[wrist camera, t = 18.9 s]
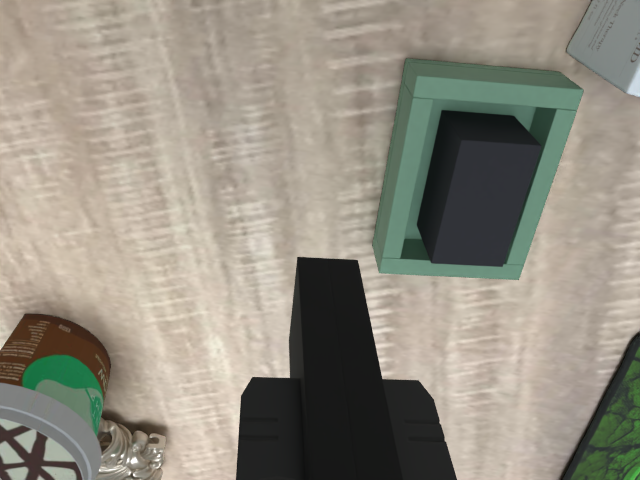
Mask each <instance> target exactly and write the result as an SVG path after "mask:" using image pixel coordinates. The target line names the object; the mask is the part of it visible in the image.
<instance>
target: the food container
mask: <svg viewBox="0 0 640 480" xmlns="http://www.w3.org/2000/svg"><path fill="white" fill-rule="evenodd" d="M110 368H111V364H110V358H109V356H108V353H107V351H106V349H105V348H104V346H103V345H102V343H101V342H100V341H99V340H98V339H97V338H96V337H95V336H94V335H92V334H91V333H90V332H89V331H87V330H86V329H84V328H82V327H81V326H79V325H77V324H75V323H73V322H71V321H68V320H65V319H62V318H58V317H54V316H49V315H41V314H25V315H24V316H23V318H22V319H21V321H20V322H19V324H18V325H17V327H16V328H15V330H14V331H13V333H12V334H11V336H10V337H9V338H8V340H7V341H6V343H5V344H4V346H3V347H2V349H1V350H0V478H1V479H2V480H95V478H96V476H97V474H98V472H99V469H100V466H101V459H102V453H101V448H100V444H99V441H98V439H97V433H98V429H99V424H100V419H101V414H102V410H103V405H104V400H105V396H106V391H107V386H108V382H109V377H110Z"/></svg>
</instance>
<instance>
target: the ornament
mask: <svg viewBox="0 0 640 480" xmlns="http://www.w3.org/2000/svg"><path fill="white" fill-rule="evenodd" d="M110 434H111V435H112V442H111V443H110V442H100V441H101V439H102V438H103V437H104V436H106V435H110ZM97 439H98V441H99V444H100V448H101V453H102V459H101V466H100V469H99V472H98V474H97V476H96V478H95V480H161V477H162V473H163V472H162V469H161V468H160V466H161V465H162V463H163V461H164V448H165V443H166V437H165V436H162V435H160V434H154V433H151V434H150V435H149V437H148V435H147V434H145V433H143V432H142V431H135V432H134V434H133V436H132V434H131V432H130V431H129V430H128V429H127V428H126V427H125V426H123V425H121V424H119V423H114V422H113V421H111V420H104V419H103V418H101V419H100V424H99V429H98V433H97Z"/></svg>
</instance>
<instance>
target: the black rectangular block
mask: <svg viewBox="0 0 640 480" xmlns="http://www.w3.org/2000/svg"><path fill="white" fill-rule="evenodd" d="M540 150H541V145H540V143H539V142H538V141H537V140H536V139H535V138H534V137H533V136H532V135H531V134H530V133H529V131H528V130H527V129H526V128H525V127H524V126H523V125H522V124H521V123H520V122H519V121H518V119H517V118H516V117H515V116H512V115H500V114H487V113H474V112H462V111H449V110H442V111H441V116H440V120H439V125H438V129H437V134H436V138H435V143H434V148H433V152H432V157H431V161H430V166H429V170H428V175H427V179H426V184H425V188H424V193H423V198H422V202H421V207H420V211H419V216H418V220H417V228H418V230H419V233H420V235H421V238H422V241H423V243H424V246H425V248H426V251H427V254H428V256H429V259H430V261H431V263H432V264H452V265H472V266H492V267H503V265H504V261H505V258H506V255H507V252H508V249H509V246H510V243H511V240H512V237H513V234H514V230H515V227H516V224H517V221H518V218H519V215H520V212H521V209H522V206H523V202H524V199H525V196H526V193H527V190H528V187H529V184H530V181H531V178H532V175H533V171H534V168H535V165H536V162H537V159H538V156H539V153H540Z"/></svg>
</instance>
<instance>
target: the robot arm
mask: <svg viewBox="0 0 640 480" xmlns="http://www.w3.org/2000/svg"><path fill="white" fill-rule="evenodd" d="M289 356H290V378H266V377H252V379H251V380H250V382H249V384H248V385H247V387H246V389H245V390H244V392H243V394H242V395H241V407H240V424H239V440H238V457H237V473H236V480H457V478H456V475H455V471H454V468H453V464H452V461H451V458H450V454H449V451H448V447H447V444H446V442H445V441H444V438H445V437H444V434H443V430H442V427H441V424H440V423H439V417H438V413H437V410H436V406H435V403H434V399H433V398H432V397H431V395H430V394H429V393H428V392H427V390H426V389H425V388H424V387H423V385H422V384H421V383H420V382H419V380H387V379H382V376H381V371H380V366H379V361H378V356H377V351H376V346H375V342H374V337H373V332H372V327H371V322H370V317H369V312H368V308H367V303H366V298H365V293H364V288H363V283H362V278H361V274H360V269H359V264H358V260H346V259H326V258H306V257H297V267H296V277H295V287H294V297H293V307H292V317H291V326H290V336H289Z"/></svg>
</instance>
